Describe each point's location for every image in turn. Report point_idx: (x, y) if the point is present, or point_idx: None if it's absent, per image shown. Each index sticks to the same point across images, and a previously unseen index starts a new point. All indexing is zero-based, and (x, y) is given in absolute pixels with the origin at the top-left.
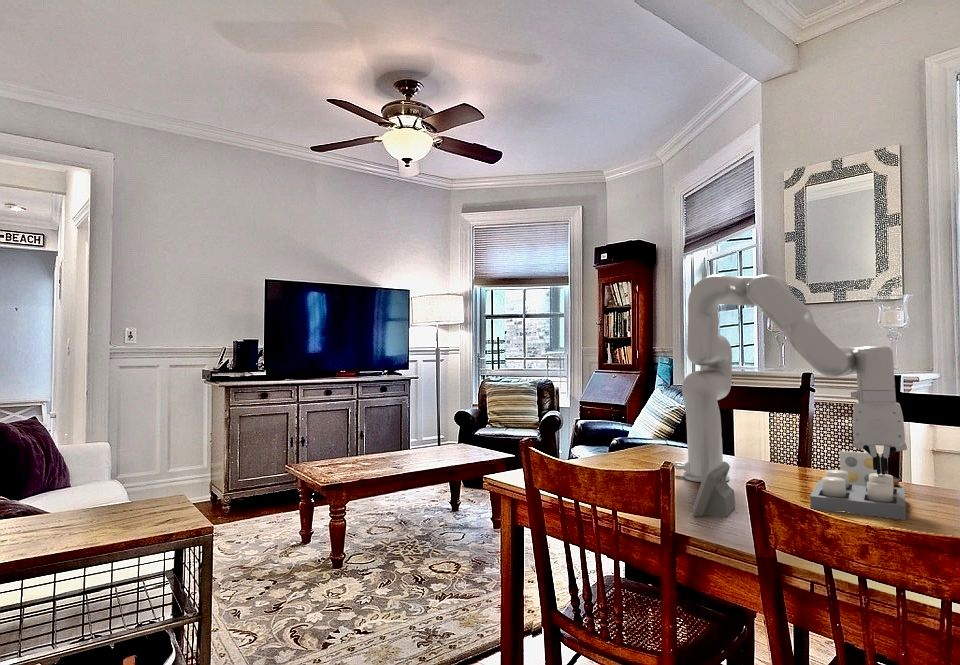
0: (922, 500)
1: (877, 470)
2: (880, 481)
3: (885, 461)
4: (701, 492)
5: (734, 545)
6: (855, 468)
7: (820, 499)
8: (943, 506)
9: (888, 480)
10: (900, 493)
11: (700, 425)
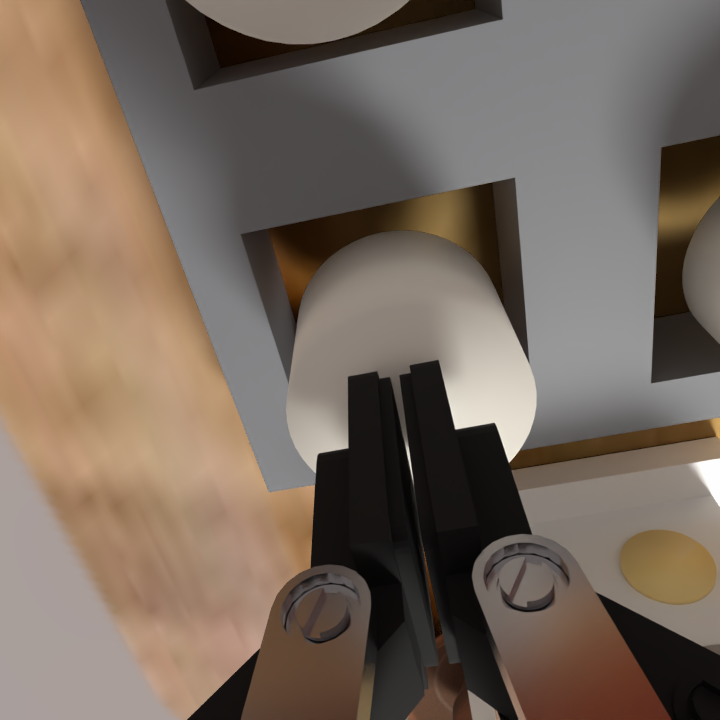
0: (202, 493)
1: (434, 382)
2: (323, 32)
3: (344, 540)
4: None
5: None
6: None
7: None
8: (49, 425)
9: (312, 331)
10: (230, 299)
11: None
